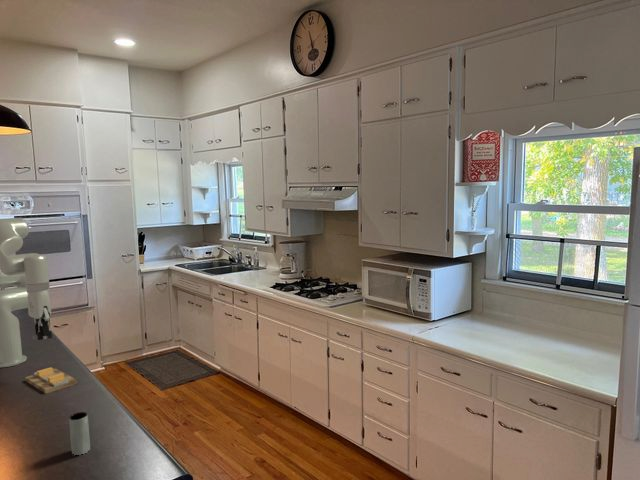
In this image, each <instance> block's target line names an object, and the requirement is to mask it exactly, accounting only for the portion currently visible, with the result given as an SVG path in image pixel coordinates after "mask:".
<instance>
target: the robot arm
mask: <svg viewBox="0 0 640 480" xmlns="http://www.w3.org/2000/svg"><path fill="white" fill-rule="evenodd" d="M29 232H30V227H29V224H28V222H27V221H26V220H24V218H21V217H12V218H11V217H10V218H9V217H8V218H0V368H9V367H13V366H17V365H20V364H22V363H24V362H26V361H27V360H28V359H27V358H28V357H27V356H26V355H24V354H23V351H22V340H21V330H20V329H21V328H20V320H19V318H18V317H17V316H15V314H13V313H12V312H14V311H18V310H22V309H27V312H28V313H27V314H28V316H29V317H31V318H33V320H34V322H33V323H34V329H35V336H37V333H38V331H40V336H41V337H42V336H46V335H49V334H50V332H49V329H50V322H49V321H50V320H51V315H52V307H51V300H50V294H49V291H51V290H50V289H51V288H50V278H49V268H48V266H49V265H48V258H47V256H46V255H45V254H40V253H38V252H37V253H36V252H32V253H22V254H15V253H17V252H18V251H19V250H20V249H21V248H22V247H23V244H24V240H23V239H25V238H26V237H27V236H28V235H29ZM8 287H12V288H8ZM2 288H3V289H2ZM4 288H5V289H4ZM42 316H44V317H42ZM41 317H42V318H41ZM35 318H36V319H39V322H40V326H39V328H38V321H36V319H35ZM42 319H44V320H43V321H42Z"/></svg>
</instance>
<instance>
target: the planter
mask: <svg viewBox="0 0 640 480" xmlns="http://www.w3.org/2000/svg"><path fill="white" fill-rule="evenodd" d="M68 423H69V435H70V445H71V454H72V455H73V454H74V455H73V456H75V455H79V456H82V455H81V454H83V455H85V453H86V454H88V453H89V452H90V451H91V441H90V430H89V429H90V427H89V414H88V413H87V412H84V411H79V412H76V413H73V414H71V415H69V418H68ZM89 450H90V451H89ZM88 451H89V452H88Z"/></svg>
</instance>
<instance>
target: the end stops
mask: <svg viewBox="0 0 640 480" xmlns="http://www.w3.org/2000/svg"><path fill="white" fill-rule="evenodd" d="M53 369H54V368H53V367H46V368H44V369H41V370H37V371H36V372H37V375H38V376H42V375H45V374H48V373H52V372H53ZM63 373H64V372H63ZM63 373H60V374H57V375H53V376H50V377H48V382H53V381H57V380H60V379H63V378H64V374H63Z"/></svg>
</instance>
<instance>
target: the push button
mask: <svg viewBox="0 0 640 480" xmlns="http://www.w3.org/2000/svg"><path fill="white" fill-rule="evenodd" d="M42 317H44V316H42ZM42 317H41V318H42ZM35 319H36V318H35ZM43 320H44V319H42V321H43ZM36 321H38V328H39V326H40V322H39V319H36ZM49 332H50V334H49V335H46V336H42V337H41V336H40V331H38V333H37V335H34V336H32V338H34V340H37V341H43V340H47V339H53V334H52V330H51V328H49Z"/></svg>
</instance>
